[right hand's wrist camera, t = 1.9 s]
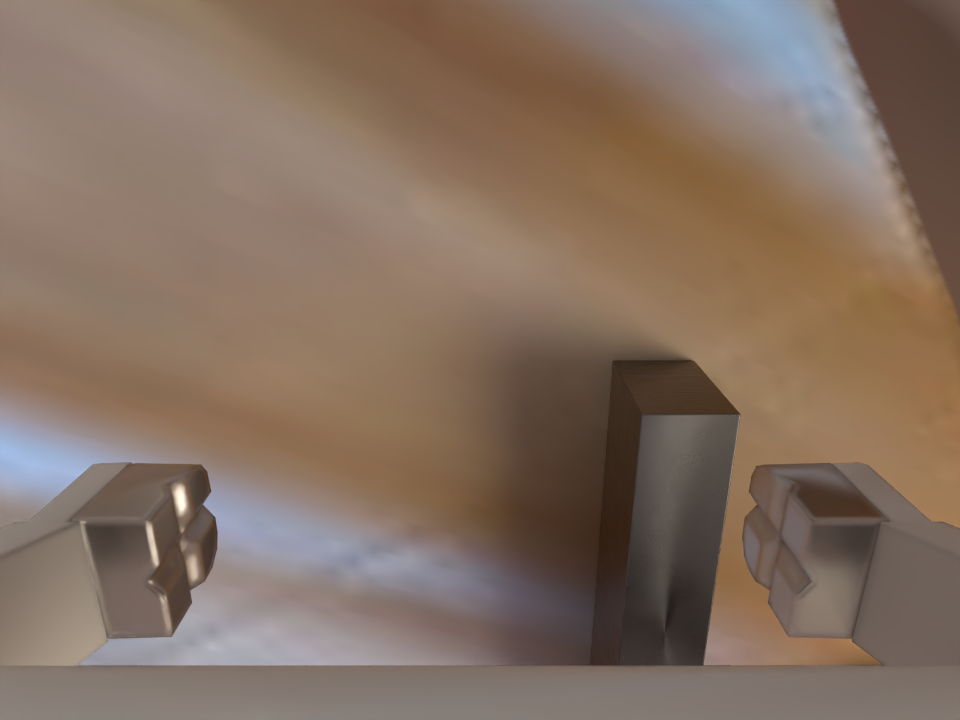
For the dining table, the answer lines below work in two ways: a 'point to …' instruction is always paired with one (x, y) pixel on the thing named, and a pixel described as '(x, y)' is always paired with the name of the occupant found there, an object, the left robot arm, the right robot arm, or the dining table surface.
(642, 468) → the bar
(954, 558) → the right robot arm
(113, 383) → the dining table surface
